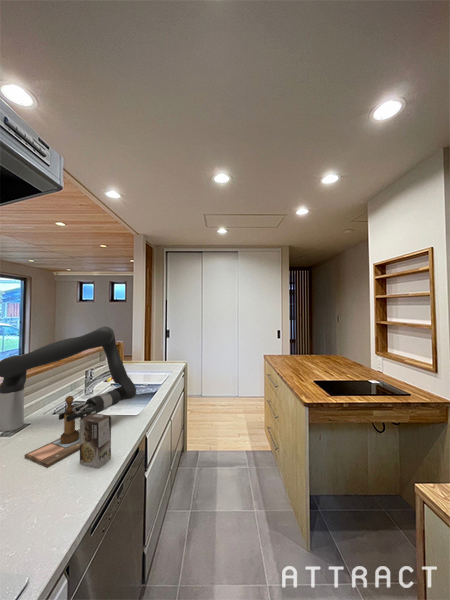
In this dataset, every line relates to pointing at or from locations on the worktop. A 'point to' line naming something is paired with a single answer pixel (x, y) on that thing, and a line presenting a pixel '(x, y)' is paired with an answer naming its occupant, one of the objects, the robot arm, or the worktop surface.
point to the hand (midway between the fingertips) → (63, 418)
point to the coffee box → (95, 440)
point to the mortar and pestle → (69, 424)
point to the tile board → (53, 452)
